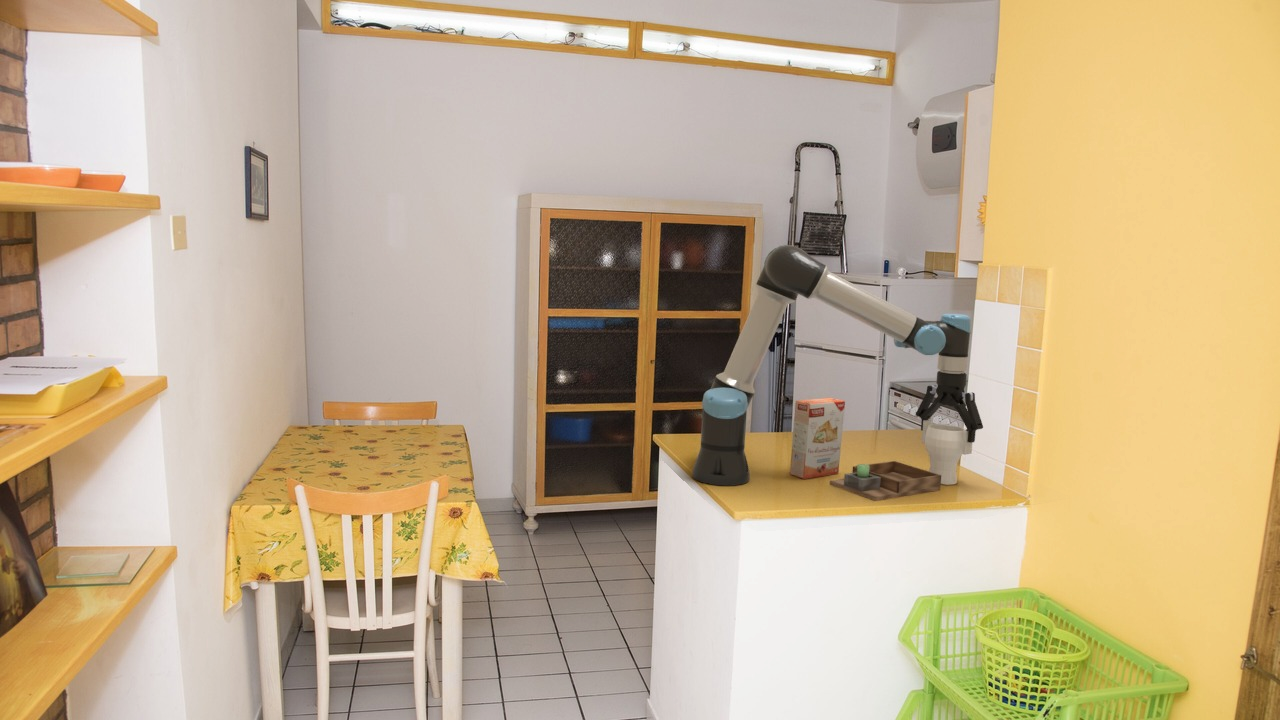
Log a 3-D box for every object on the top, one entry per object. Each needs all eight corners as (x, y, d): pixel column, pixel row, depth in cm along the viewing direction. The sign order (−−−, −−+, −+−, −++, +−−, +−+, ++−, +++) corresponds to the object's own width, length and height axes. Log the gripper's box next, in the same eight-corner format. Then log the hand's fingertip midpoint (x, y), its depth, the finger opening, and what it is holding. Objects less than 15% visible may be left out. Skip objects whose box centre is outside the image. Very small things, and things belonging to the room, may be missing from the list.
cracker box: (805, 480, 227) (810, 403, 224) (788, 475, 232) (793, 399, 229) (840, 474, 235) (846, 400, 232) (824, 469, 240) (829, 396, 237)
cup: (957, 488, 225) (963, 433, 223) (917, 481, 231) (922, 427, 229) (966, 480, 234) (971, 427, 232) (926, 473, 240) (931, 421, 238)
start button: (862, 480, 217) (863, 467, 217) (854, 477, 220) (855, 464, 219) (870, 479, 219) (871, 466, 218) (862, 476, 221) (863, 463, 221)
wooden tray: (874, 500, 211) (876, 485, 210) (829, 484, 224) (830, 469, 224) (939, 490, 223) (941, 475, 223) (893, 474, 237) (894, 460, 236)
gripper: (1001, 377, 220) (994, 457, 223) (924, 364, 241) (919, 437, 244) (982, 378, 216) (975, 460, 219) (906, 365, 237) (900, 440, 240)
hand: (946, 448), depth 231 cm, fingers open, 13 cm apart
